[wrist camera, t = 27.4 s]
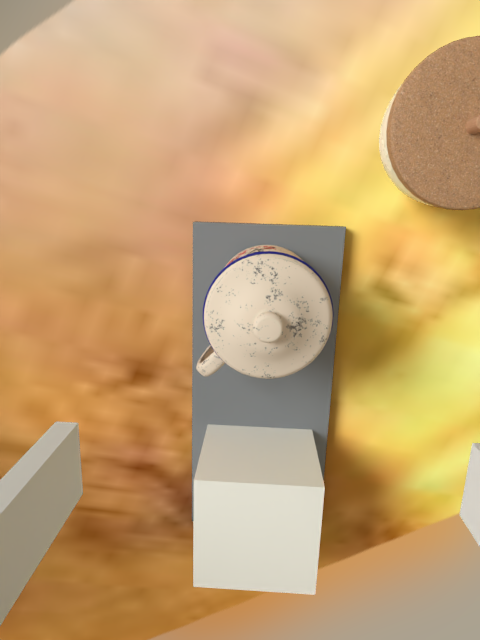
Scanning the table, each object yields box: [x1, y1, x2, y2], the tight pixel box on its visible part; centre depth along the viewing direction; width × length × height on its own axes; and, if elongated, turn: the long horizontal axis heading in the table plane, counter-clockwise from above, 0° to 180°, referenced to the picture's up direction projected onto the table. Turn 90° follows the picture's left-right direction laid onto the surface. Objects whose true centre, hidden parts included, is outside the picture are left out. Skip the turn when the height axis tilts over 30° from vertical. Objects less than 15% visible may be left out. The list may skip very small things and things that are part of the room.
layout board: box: [192, 222, 346, 521], centre depth 42 cm, size 13×30×1 cm, turn 178°
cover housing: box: [193, 424, 325, 595], centre depth 39 cm, size 10×10×9 cm
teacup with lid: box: [196, 245, 334, 379], centre depth 34 cm, size 12×9×12 cm
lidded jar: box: [379, 36, 480, 210], centre depth 32 cm, size 11×11×9 cm
